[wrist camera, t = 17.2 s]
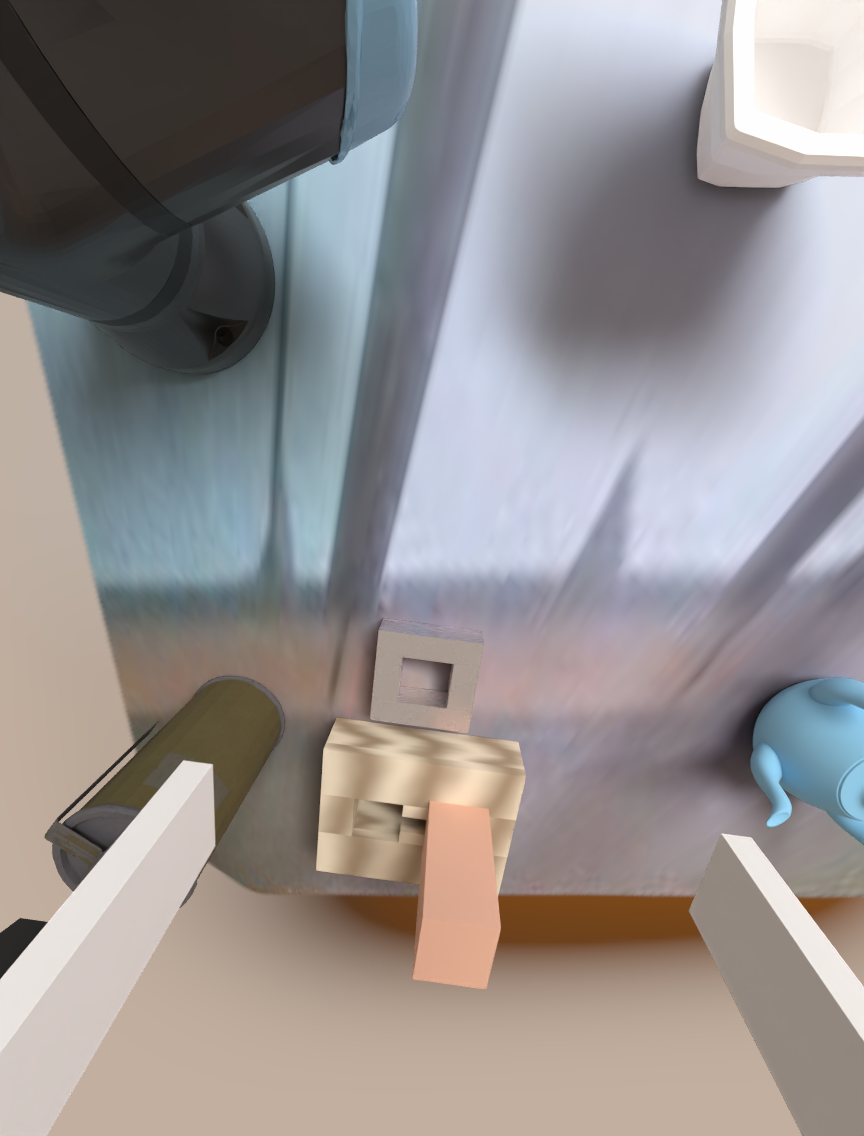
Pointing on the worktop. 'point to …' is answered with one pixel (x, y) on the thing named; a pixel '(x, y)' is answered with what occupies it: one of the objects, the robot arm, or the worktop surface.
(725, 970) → the robot arm
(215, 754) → the canister
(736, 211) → the worktop surface
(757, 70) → the bowl
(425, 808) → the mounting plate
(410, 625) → the frame
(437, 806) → the stud block
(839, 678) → the teapot
